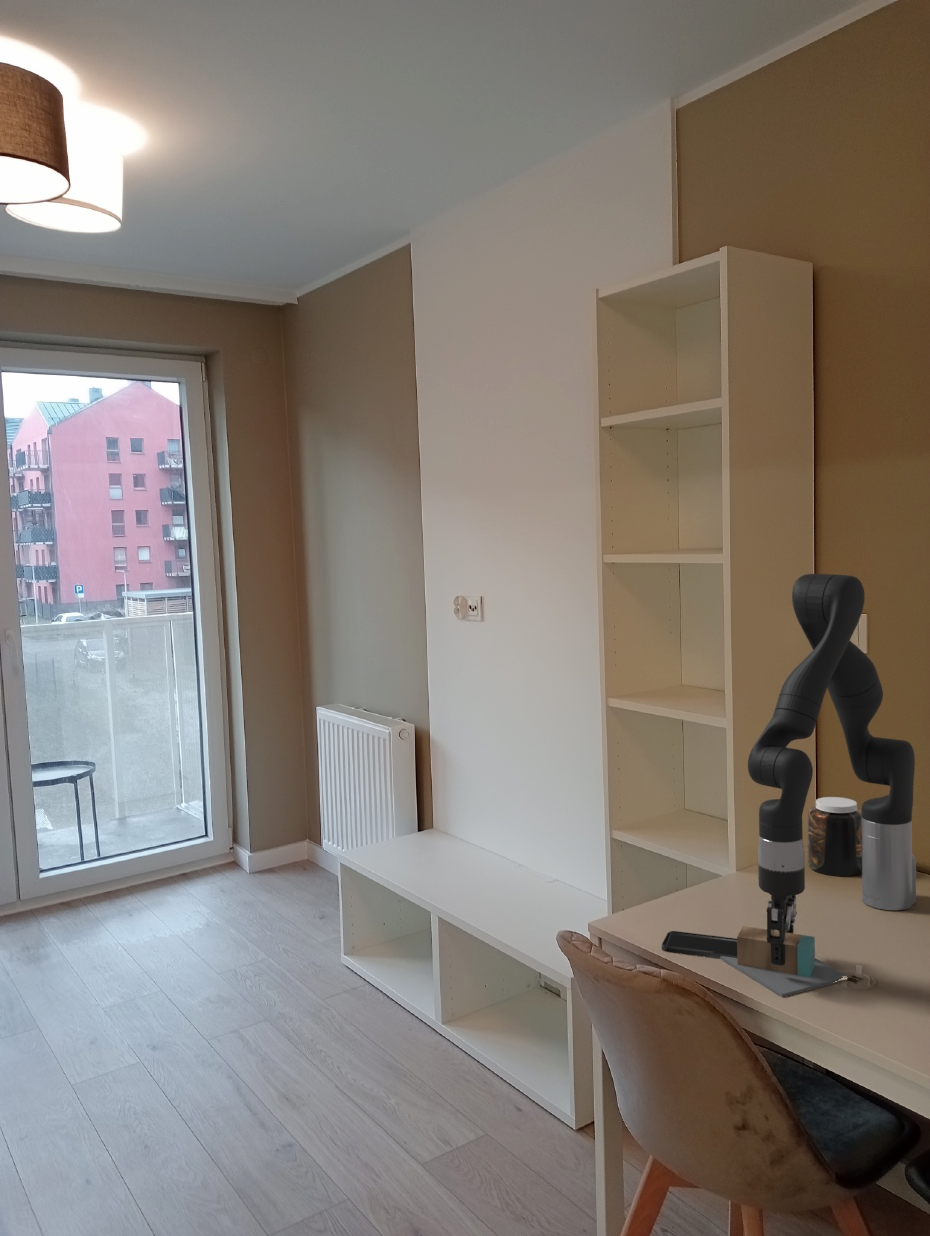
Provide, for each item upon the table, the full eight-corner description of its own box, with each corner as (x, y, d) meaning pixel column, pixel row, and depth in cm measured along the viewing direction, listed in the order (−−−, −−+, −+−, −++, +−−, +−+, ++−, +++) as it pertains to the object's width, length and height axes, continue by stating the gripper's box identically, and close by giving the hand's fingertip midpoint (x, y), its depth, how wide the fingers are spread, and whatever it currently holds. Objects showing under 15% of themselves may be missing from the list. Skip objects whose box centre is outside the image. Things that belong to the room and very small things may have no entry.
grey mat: (783, 943, 175) (783, 941, 175) (849, 979, 160) (849, 976, 160) (720, 958, 170) (720, 956, 170) (782, 997, 155) (781, 994, 155)
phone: (668, 930, 181) (751, 940, 175) (669, 936, 181) (751, 946, 175) (660, 947, 174) (745, 958, 168) (660, 953, 174) (745, 964, 168)
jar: (829, 879, 206) (828, 811, 204) (798, 862, 217) (797, 797, 216) (877, 873, 208) (876, 805, 207) (844, 856, 220) (843, 792, 218)
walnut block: (743, 926, 170) (814, 936, 164) (743, 953, 170) (814, 965, 165) (737, 936, 166) (809, 948, 160) (737, 964, 166) (810, 977, 160)
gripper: (797, 878, 155) (798, 975, 157) (810, 852, 168) (811, 941, 169) (750, 872, 159) (751, 967, 160) (766, 847, 171) (767, 935, 173)
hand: (782, 954), depth 165 cm, fingers open, 8 cm apart
